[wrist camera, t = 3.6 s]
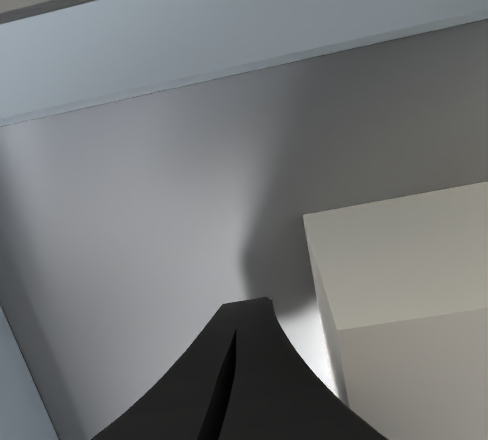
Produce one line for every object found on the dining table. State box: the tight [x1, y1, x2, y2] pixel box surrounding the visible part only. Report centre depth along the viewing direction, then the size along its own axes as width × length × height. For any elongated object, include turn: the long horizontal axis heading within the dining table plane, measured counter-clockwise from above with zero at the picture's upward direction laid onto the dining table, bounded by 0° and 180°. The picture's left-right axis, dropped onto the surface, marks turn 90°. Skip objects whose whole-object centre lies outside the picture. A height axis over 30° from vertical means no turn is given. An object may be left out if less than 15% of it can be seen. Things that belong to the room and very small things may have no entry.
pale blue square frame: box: [0, 0, 488, 440], centre depth 9 cm, size 15×14×4 cm
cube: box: [303, 181, 488, 440], centre depth 8 cm, size 5×5×5 cm
